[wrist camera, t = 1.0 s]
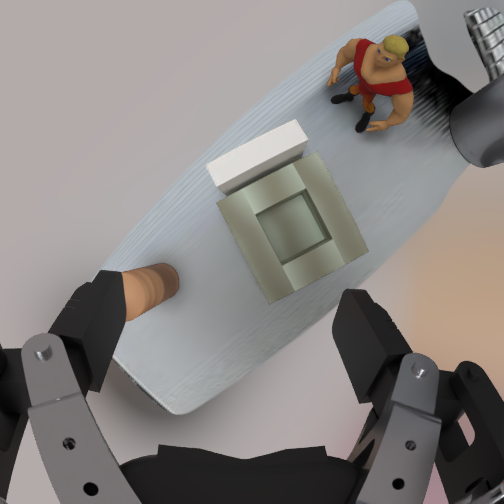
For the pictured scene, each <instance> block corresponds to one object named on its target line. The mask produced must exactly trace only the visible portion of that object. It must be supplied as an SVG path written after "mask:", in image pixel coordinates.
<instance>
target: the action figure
mask: <svg viewBox="0 0 504 504" xmlns="http://www.w3.org/2000/svg"><path fill="white" fill-rule="evenodd" d="M408 50H409V47H408V44H407V42H406V40H405V39H404V38H402V37H400V36H396V35H390V36H387V37H385V39H384V40H383V42H382V43H381V44H380V45H378V44H375V43H373V42H371V41H369V40H367V39H361V38H359V39H351V40H350V41H349V42H348V43H347V44H346V46H344V47H342V48H341V49H340V50H339V52H338V55H337V59H336V66H335V67H334V68H333V70H332V72H331V76H330V78H329V80H328V86H330V85H333V83H336V84H337V81H339V79H338V77H337V76H338V74H339V72H340V71H341V68H342V67H343V66H345V65H347V64H349V63H351V62H353V61H354V70H355V73H356V75H357V77H358V79H359V80H360V81H359V83H358V84H357V85H356V86H350V87H349V92H348V93H347V94H340V95H336V96H333V97H332V98H331V102H332V103H335V104H338V103H340V102H343V101H352V100H353V98H354V96H356V95H358V94H359V93H360V94H361V95H362V96H363V107H364V109H365V111H366V113H364V114H363V116H362V119H361V120H360V121H359V122H358V124H357V125H356V128H355V130H356V131H357V132H363V131H364V130H365V129H366V127H367V125H368V122H369V120H370V116H371V115H372V114H374V112H375V106H374V104H373V103H372V101H373V99H374V97H375V95H376V94H380V95H385V96H389V97H391V99H392V104H393V107H394V109H393V111H392V112H391V114H390V116H389V118H388V119H387V120H382V121H375V122H369V124H370V125H371V126H373V127H372V128H368V129H366V131H368V132H371V131H378V130H381V131H383V130H386V129H387V128H388V127H389V126H393V125H398V124H400V123H403V122H404V121H405V120H406V119H407V118H408V117H409V114H410V111H411V110H412V106H413V98H414V95H413V91H412V90H413V88H412V85H411V84H410V82H409V80H408V78H407V76H406V73H405V70H404V67H403V65H402V64H401V63H402V62H403V61H404V60H405V58H404V56H405V54H406V52H408ZM336 79H337V81H336Z"/></svg>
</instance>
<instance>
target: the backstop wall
mask: <svg viewBox="0 0 504 504" xmlns="http://www.w3.org/2000/svg"><path fill="white" fill-rule="evenodd" d="M307 141H308V139H307V137H306V135H305V134H304V132H303V130H302V129H301V127H300V126H299V124H298V122H297V121H296V119H294V120H292V121H290V122H288V123H286V124H284V125H282V126H280V127H277V128H275V129H273V130H271V131H269V132H267V133H265V134H263V135H261V136H259V137H257V138H255V139H253V140H251V141H249V142H247V143H245V144H243V145H242V146H240V147H238V148H236V149H234V150H232V151H230V152H228V153H226V154H225V155H223V156H221V157H219V158H217V159H215V160H214V161H212V162H210V163H208V164H206V167H207V169H208V171H209V173H210V175H211V177H212V179H213V180H214V182H215V184H216V186H217V187H218V188H219V189H220V190H221V191H222V192H223V193H224V194H225V195H226V196H227V197H228V196H229V195H231V194H233V193H235V192H237V191H239V190H241V189H243V188H244V187H246V186H248V185H250V184H252V183H254V182H256V181H258V180H260V179H262V178H264V177H266V176H268V175H269V174H271V173H273V172H275V171H277V170H279V169H281V168H283V167H285V166H287V165H289V164H291V163H293V162H295V161H297V160H300V159H301V157H302V154H303V152H304V149H305V147H306V144H307Z"/></svg>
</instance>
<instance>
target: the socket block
mask: <svg viewBox="0 0 504 504" xmlns="http://www.w3.org/2000/svg"><path fill="white" fill-rule="evenodd" d="M216 204H217V205H218V207H219V209H220V211H221V213H222V215H223V217H224V219H225V221H226V223H227V225H228V227H229V229H230V230H231V232H232V234H233V236H234V238H235V240H236V242H237V244H238V246H239V248H240V250H241V251H242V253H243V255H244V257H245V259H246V261H247V263H248V265H249V267H250V269H251V270H252V272H253V274H254V276H255V278H256V280H257V282H258V284H259V286H260V287H261V289H262V291H263V293H264V295H265V297H266V299H267V301H268V303H269V304H271V303H273V302H275V301H277V300H279V299H281V298H283V297H285V296H287V295H289V294H291V293H293V292H295V291H297V290H299V289H301V288H303V287H305V286H307V285H308V284H310V283H312V282H314V281H316V280H318V279H320V278H322V277H324V276H325V275H327V274H329V273H331V272H333V271H335V270H336V269H338V268H340V267H342V266H344V265H346V264H347V263H349V262H351V261H353V260H355V259H356V258H358V257H360V256H362V255H364V254H365V253H367V252H369V250H368V248H367V246H366V244H365V242H364V240H363V238H362V236H361V234H360V231H359V229H358V227H357V225H356V223H355V221H354V219H353V217H352V215H351V213H350V211H349V209H348V207H347V205H346V204H345V202H344V200H343V198H342V196H341V194H340V192H339V190H338V188H337V186H336V185H335V183H334V181H333V179H332V177H331V175H330V174H329V172H328V170H327V168H326V167H325V165H324V163H323V161H322V159H321V158H320V156H319V154H318V153H317V151H316V152H314V153H312V154H310V155H308V156H306V157H304V158H302V159H300V160H297V161H295V162H293V163H291V164H289V165H287V166H285V167H283V168H281V169H279V170H277V171H275V172H273V173H271V174H269V175H268V176H266V177H264V178H262V179H260V180H258V181H256V182H254V183H252V184H250V185H248V186H246V187H244V188H243V189H241V190H239V191H237V192H235V193H233V194H231V195H229V196H228V197H226V198H224V199H222V200H220V201H218V202H217V203H216Z"/></svg>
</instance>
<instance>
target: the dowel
mask: <svg viewBox="0 0 504 504" xmlns="http://www.w3.org/2000/svg"><path fill="white" fill-rule="evenodd" d="M121 273H122V276H123V283H124V292H125V300H126V308H127V315H126V321H131V320H133V319H135V318H136V317H138V316H140V315H141V314H143V313H145V312H147V311H148V310H150V309H152V308H153V307H155V306H157V305H159V304H160V303H162V302H164V301H165V300H167V299H169V298H170V297H172V296H173V295H175V293H176V292H177V290H178V288H179V277H178V274H177V272H176V271H175V269H174V268H173V267H171V266H170V265H167V264H163V263H160V264H155V265H151V266H147V267H142V268H138V269H133V270H129V271H125V272H121Z"/></svg>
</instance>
